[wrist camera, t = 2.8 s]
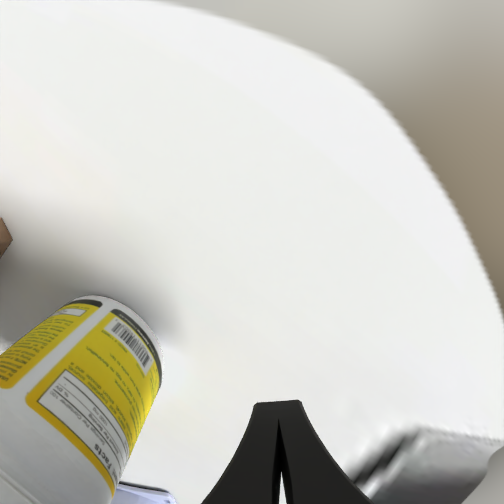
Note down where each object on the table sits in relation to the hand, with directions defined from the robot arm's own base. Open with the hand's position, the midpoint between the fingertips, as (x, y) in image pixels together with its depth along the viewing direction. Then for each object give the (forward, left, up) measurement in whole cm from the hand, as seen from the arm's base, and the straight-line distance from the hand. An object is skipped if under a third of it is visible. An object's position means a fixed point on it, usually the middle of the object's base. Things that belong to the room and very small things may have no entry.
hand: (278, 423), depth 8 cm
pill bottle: (0, +8, -5) cm, 10 cm away
